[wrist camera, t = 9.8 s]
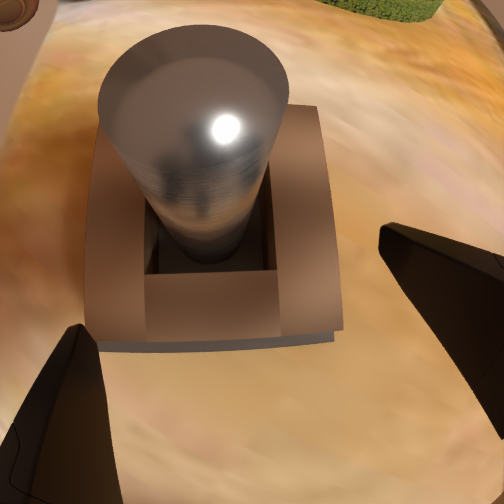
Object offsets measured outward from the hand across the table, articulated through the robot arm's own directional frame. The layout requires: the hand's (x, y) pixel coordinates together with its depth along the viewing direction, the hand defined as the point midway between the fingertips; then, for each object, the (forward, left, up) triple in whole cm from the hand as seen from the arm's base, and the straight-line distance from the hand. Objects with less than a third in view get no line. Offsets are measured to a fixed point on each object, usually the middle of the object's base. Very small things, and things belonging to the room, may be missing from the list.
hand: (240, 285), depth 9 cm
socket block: (+4, +1, -10) cm, 11 cm away
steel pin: (+4, +1, -10) cm, 10 cm away
